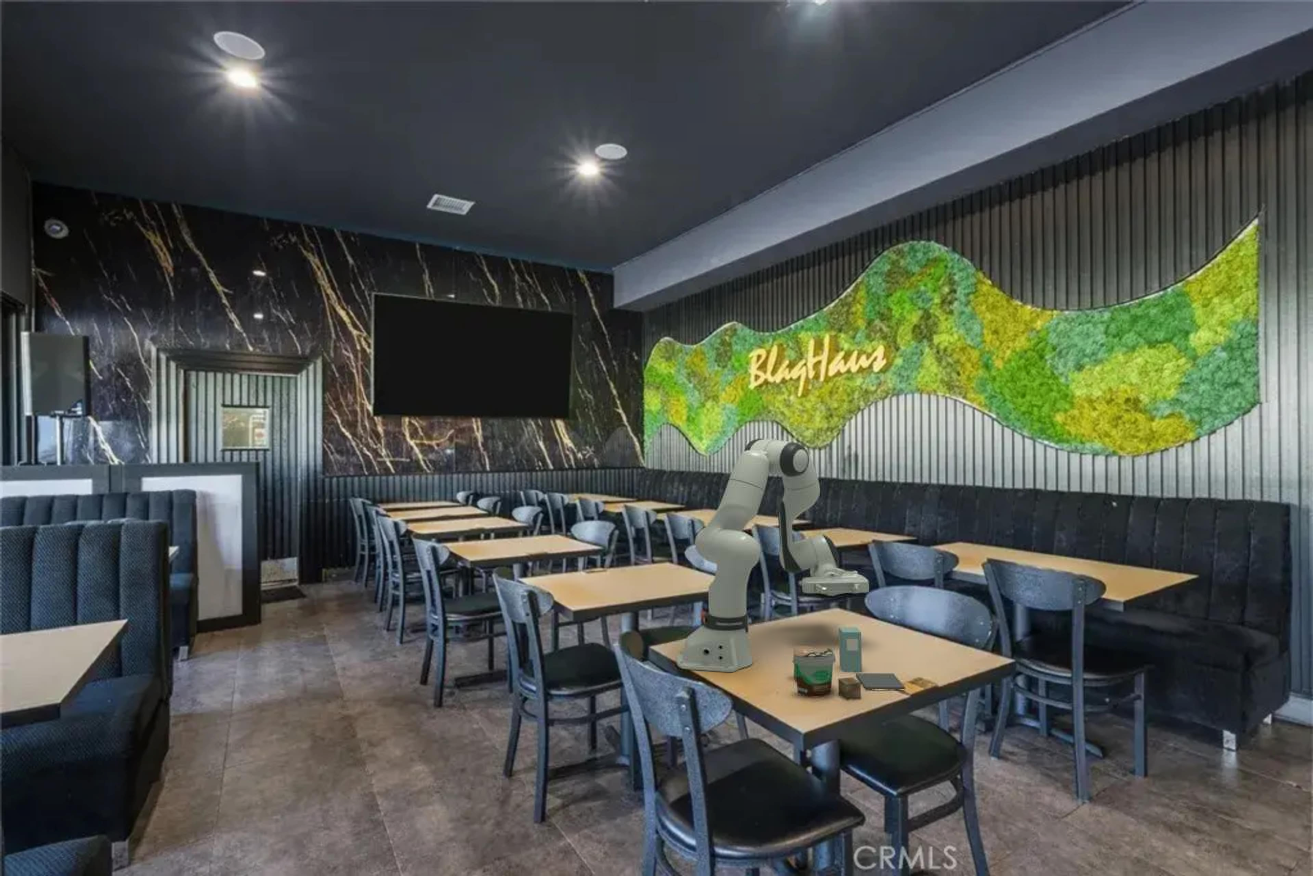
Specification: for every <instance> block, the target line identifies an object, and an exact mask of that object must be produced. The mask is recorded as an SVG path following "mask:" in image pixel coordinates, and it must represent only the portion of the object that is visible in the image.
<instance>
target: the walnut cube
mask: <svg viewBox="0 0 1313 876" xmlns="http://www.w3.org/2000/svg"><path fill="white" fill-rule="evenodd" d="M837 681H838V682H837V683H838V695H839V696H842V699H844V698H845V699H846V700H845V699H844V700H845V701H851V700H850V699H853V700H860V699H859V698H861V699H862V689H861V688H862V684H861V683H860V681H859V680H858V679H856V678H855V677H852V676H851V677H843V678H837Z"/></svg>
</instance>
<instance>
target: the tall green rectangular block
mask: <svg viewBox="0 0 1313 876" xmlns="http://www.w3.org/2000/svg"><path fill="white" fill-rule="evenodd" d="M838 642H839V644H838V645H839V651H838V653H839V654H838V655H839V667H840V668H841V670H842V672H843V671H844V673H863V661H862V660H863V658H862V631H861V630H860V629H859V628H858V627H857V626H855V627H854V626H840V627H838Z"/></svg>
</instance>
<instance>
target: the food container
mask: <svg viewBox="0 0 1313 876" xmlns="http://www.w3.org/2000/svg"><path fill="white" fill-rule="evenodd" d="M826 649H827V650H824V651H820V652H816V653H810V654H807V655H805V656H798V655H795V654H794V653H793V657H792V663H793V664H794V663H795V671H796V680H797V681H796V680H795V681H796V687H797V689H796V690H797V694H799V693H800V695H804V696H806V697H812V696H820V697H825V695H826V696H828V695H830V694H831V693H832V686H833V685H832V682H833V669H834V664H835V663H836V660H837V659H836V656H835V652H834V651H833V649H832V648H830V647H827V648H826Z"/></svg>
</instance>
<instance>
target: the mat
mask: <svg viewBox="0 0 1313 876" xmlns="http://www.w3.org/2000/svg"><path fill="white" fill-rule="evenodd" d="M855 677H856V678H857V681H859V682H860V683H861V686H862V685H863V686H862V687H863V689H864V688H865V689H866V690H865V689H864V690H865V691H875V690H874V689H905V690H906V686H905V685H904V684H903V683H902V681H900V679H899V678H898V677H897V675H895V674H894V673H885V672H884V673H882V672H880V673H875V672H874V673H871V672H870V673H868V672H867V673H865V672H864V673H863V672H855ZM872 689H873V690H872Z"/></svg>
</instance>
